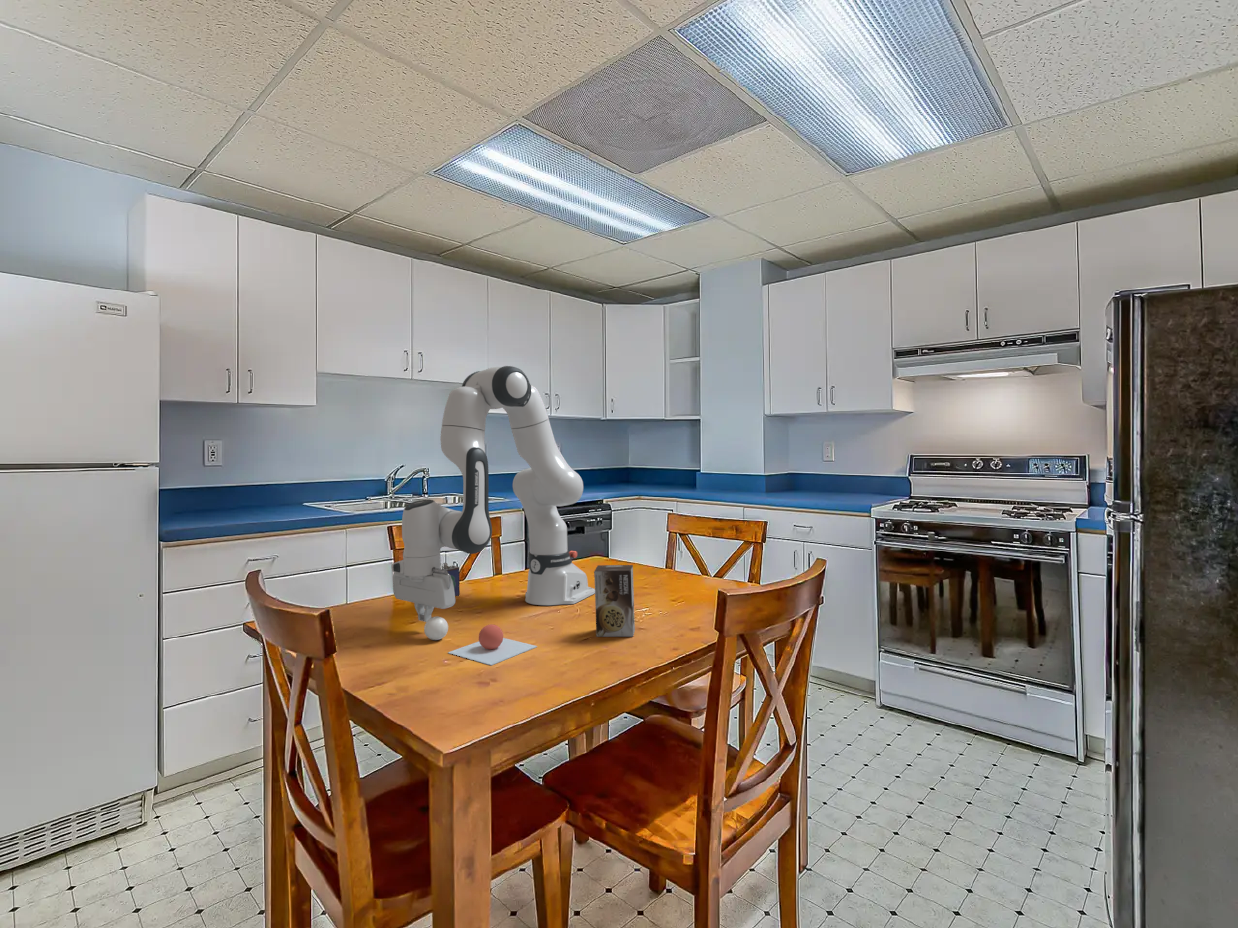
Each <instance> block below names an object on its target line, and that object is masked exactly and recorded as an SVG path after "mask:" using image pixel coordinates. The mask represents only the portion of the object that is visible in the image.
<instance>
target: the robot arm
mask: <svg viewBox="0 0 1238 928" xmlns="http://www.w3.org/2000/svg"><path fill="white" fill-rule="evenodd" d="M497 409H503V410H504V411H505V412H506V414H507V416H508V417H507V418H508V421H509V426H510V429H511V433H512V437H513V441H514V443H515V448H516V450H517V453H518V455H519V456H520V457H521V458H522V459H523V460H525V462H526V463H527V464H528V465H529V467H528V468H524V469H522V470H519V471H518V472H516V474H515V476H514V478H513V480H512V491H513V493H514V495H515V497H517V499H518V500H519V502H520V503H521V506H522V509H523V511H524V514H525V517H526V520H527V526H528V539H529V540H528V541H529V552H528V556H527V557H528V558H527V559H528V563H527V565H528V566H529V569H528V575H527V586H526V591H525V594H524V595H525V600H524V602H526V603H528V604H530V605H534V606H535V605H536V606H537V605H538V606H558V605H574V604H577V603H579V602H581V601H582V600H584V599H587V598H589V597H591V596H592V595H595V587H594V588H593V587H591V586H589V583H588V582H589V581H588V576H587V573H586V572H585V571H583V570H582V569H580V567H578V566H577V565H575V564H574V563H573V560H572V558H573V559H576V558H577V557H578V551H576V550H570V551H569V550H568V527H567V524H566V522H565V521H564V519H563V518H562V517H561V515H560V513H559V511H558V508H557V507H564V506H570V505H574V504H576V503H577V502H578V501H580V500H581V498H582V496H583V494H584V493H583V492H584V481H583V479H582V477H581V476H580V474H579V473H578V472H577V471H575V470H574V469H573V468H572V467H571V466H570V465H569V464H568V462H567V460H566V459H565V458H564V456H563V455H562V453H561V451H560V449H559V446H558V445H557V442H556V439H555V435H554V434H553V433H554V432H553V429H552V425H551V422H550V418H549V414H548V411H547V408H546V405H545V403H544V401H543V398H542V396H541V394H540V392H539V390H538V388H536V387H535V386H534V385H532V384H531V383H530V381H529V378H528V377H527V375H526V373H524V371H523V370H522V369H520V368H519V367H516V366H513V365H512V366H511V365H504V366H496V367H488V368H486V369H483V370H477V371H474V372H473V373H471V374H469V375H468V376H467V377H466V378H465V379H464V380H463V382H462V384H461V386H459V387H456V388H454V389H452V390H451V391H450V393H449V394H448V397H447V399H446V403H445V408H444V409H443V410H444V411H443V415H442V422H441V430H440V448H441V449H440V450H441V451H442V453H443V455H444V456H445V457H446V458H447V459H448V460H449V461H450V462H451V463H452V464H454V465H455V466H456V467H457V468H458V469H459V472H461V475H462V480H463V483H462V484H463V486H462V488H463V489H462V490H463V491H462V492H463V494H462V495H463V496H462V497H463V498H462V501H463V502H462V509H461V510H455V509H452V508H449V507H445V506H442V505H440V504H439V503H437V502H436V501H435V500H434V499H421V500H416V501H413V502H410V503H408V504H407V505H406V506H405V507H404V509H403V512H402V517H401V518H402V519H401V538H402V541H403V545H404V549H403V552H402V557H403V559H402V560H398V561H396V562H392V563H391V567H390V568H391V571H392V572H393V574H392V591H393V595H394V597H395V599H396V600H400V601H406V602H410V603H413V605H414V608H415V611H416V613H417V619H418V621H420V622H424V623H426V622H427V621H428V620H429V619H430V618H432V614H433V611H434V609H435V608H437V609H442V610H445V609H448V608H451V607H453V606H455V604H456V597H455V592H454V586H453V581H452V579H451V576H450V575H449V573H448V572H447V570H445V569H443V568H442V564H441V563H442V562H441V561H442V559H441V549H442V548H443V547H444V548H445V547H446V548H449V549H453V550H457V551H461V552H463V553H466V554H471V555H473V554H478V553H480V552H482V551H483V550H484V549H486V547H487V546H488V545H489V543H490V541H491V539H492V536H493V526H492V521H491V517H490V510H489V494H490V493H489V492H490V491H489V482H490V481H489V462H488V461H489V460H488V456H487V454H486V449H485V434H486V433H485V432H486V424H487V423H486V418H487V416H488V413H489V412H490V411H491V410H497Z"/></svg>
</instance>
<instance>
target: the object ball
mask: <svg viewBox="0 0 1238 928" xmlns="http://www.w3.org/2000/svg"><path fill="white" fill-rule="evenodd" d="M503 638H504V632H503V630H502V629H501V627H500V626H498V625H496V624H487V625H485V626H483V627H482V628H481V629H480V631H479V634H478V641H479V642H480V644H481V646H482V647H484V648H485V649H489V650H492V649H495V648H497V647H499V646H500V645H501V643H502V641H503Z"/></svg>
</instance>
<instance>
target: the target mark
mask: <svg viewBox="0 0 1238 928" xmlns="http://www.w3.org/2000/svg"><path fill="white" fill-rule="evenodd" d="M536 648H538V646H537V645H534V644H530V643H526V642H521V641H518V640H514V639H510V638H507V637H506V638H505V637H503V641H502V643H501V645H500V646H499V647H497V648H495V649H492V650H489V649H485V648H484V647H482V646H481V644H480V642H479V640H478V641H475V642H473V643H470V644H467V645H465V646H462V647H459V648H456V649H453V650H451V651H447V654H449V655H452V654H453V656H456V655H457V656H456V657H459V656H460V657H459V658H463V659H466V658H467V660H471V661H473V660H474V661H473V662H477V663H482V664H484V665H488V666H493V665H496V664H498V663H501V662H503V661H506V660H508V659H511V658H513V657H516V656H518V655H521V654H523V653H526V652H529V651H530V650H533V649H536Z"/></svg>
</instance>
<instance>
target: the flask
mask: <svg viewBox="0 0 1238 928" xmlns="http://www.w3.org/2000/svg"><path fill="white" fill-rule="evenodd" d="M442 565H443V566H442ZM441 566H442V569H445V570H447V572H448V573H449V575H450V576H451V579H452V581H453V586H454V592H455V596H457V597H460V596H461V595H460V594H461V593H460V586H461V585H460V567H459V566H458V565H457V566H456V565H450V566H449V564H448V563H447V562H444V563H443V562H442V564H441ZM459 595H460V596H459Z"/></svg>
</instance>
